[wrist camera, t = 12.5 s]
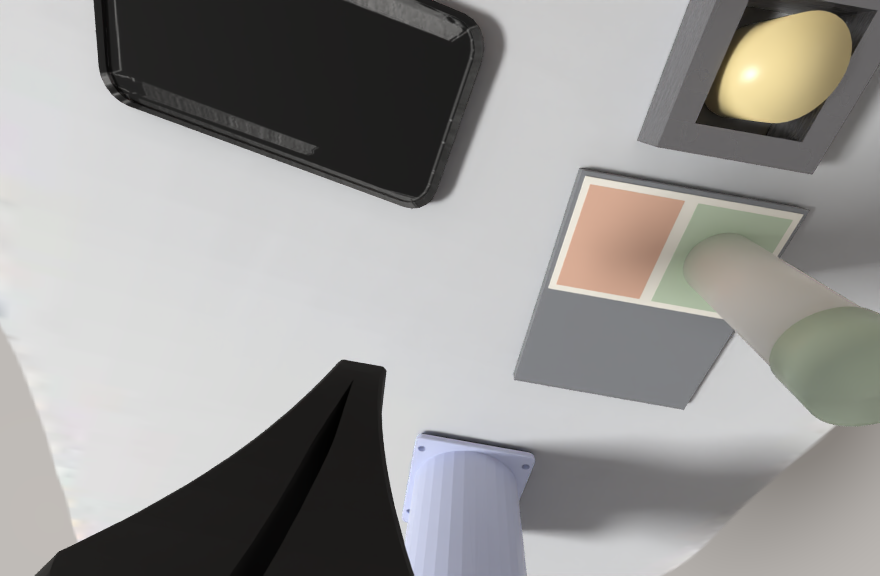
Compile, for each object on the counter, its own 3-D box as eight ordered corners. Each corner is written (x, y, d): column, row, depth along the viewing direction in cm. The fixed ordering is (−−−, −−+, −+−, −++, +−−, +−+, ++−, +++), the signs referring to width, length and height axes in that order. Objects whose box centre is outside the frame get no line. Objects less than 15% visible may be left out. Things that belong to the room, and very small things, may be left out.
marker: (739, 296, 18) (899, 432, 11) (671, 290, 19) (783, 419, 12) (770, 234, 17) (977, 345, 10) (695, 227, 17) (842, 331, 10)
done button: (764, 124, 15) (812, 130, 13) (686, 110, 15) (721, 114, 13) (812, 30, 14) (876, 19, 12) (726, 15, 14) (773, 2, 12)
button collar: (775, 164, 16) (812, 174, 15) (637, 140, 16) (657, 146, 14) (872, -9, 13) (932, -24, 12) (704, -39, 13) (739, -58, 12)
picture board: (679, 403, 23) (684, 411, 22) (513, 374, 23) (514, 381, 22) (801, 207, 17) (811, 211, 16) (579, 168, 17) (582, 170, 16)
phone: (82, -147, 13) (493, 25, 14) (110, -131, 14) (492, 29, 15) (101, 98, 17) (426, 218, 18) (122, 97, 18) (429, 211, 19)
